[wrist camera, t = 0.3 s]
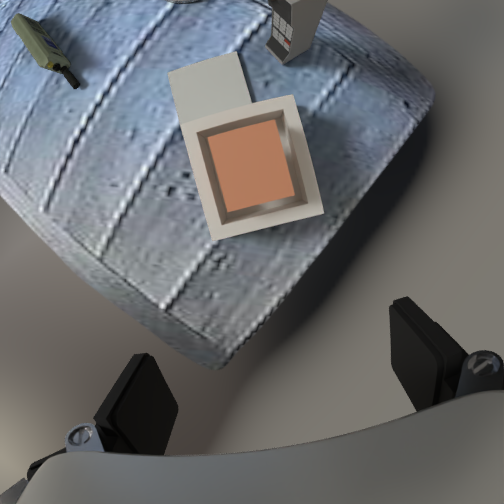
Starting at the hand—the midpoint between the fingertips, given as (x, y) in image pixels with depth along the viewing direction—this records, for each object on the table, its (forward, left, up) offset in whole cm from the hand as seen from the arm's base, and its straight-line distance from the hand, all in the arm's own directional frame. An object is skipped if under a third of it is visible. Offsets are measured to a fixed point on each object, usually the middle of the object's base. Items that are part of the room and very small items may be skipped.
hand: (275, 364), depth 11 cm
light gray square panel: (-20, -3, -31) cm, 37 cm away
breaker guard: (-8, 0, -31) cm, 32 cm away
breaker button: (-8, 0, -24) cm, 25 cm away
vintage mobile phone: (-24, +9, -31) cm, 40 cm away
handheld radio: (-41, -28, -32) cm, 59 cm away
